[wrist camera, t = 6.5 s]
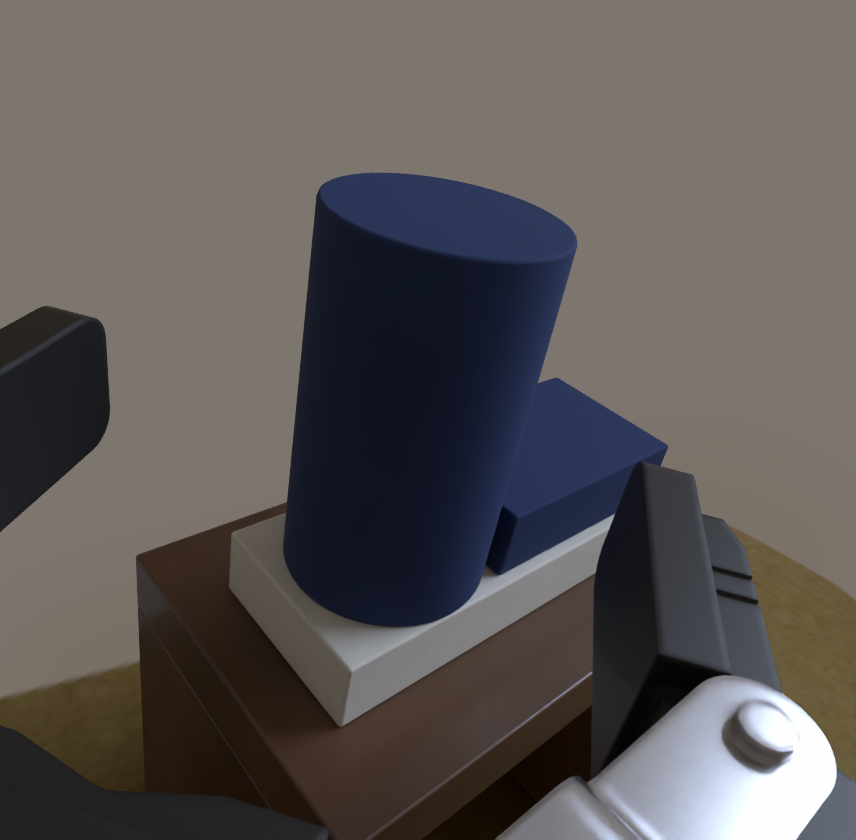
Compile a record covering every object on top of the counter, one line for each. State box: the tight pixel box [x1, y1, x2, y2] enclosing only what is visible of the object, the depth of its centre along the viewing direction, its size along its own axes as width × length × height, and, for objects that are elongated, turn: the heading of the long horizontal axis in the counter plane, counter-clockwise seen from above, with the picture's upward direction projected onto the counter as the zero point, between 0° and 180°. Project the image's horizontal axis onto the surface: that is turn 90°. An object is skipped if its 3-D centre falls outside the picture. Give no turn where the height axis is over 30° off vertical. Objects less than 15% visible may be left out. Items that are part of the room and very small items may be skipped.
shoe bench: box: [136, 502, 595, 840], centre depth 26 cm, size 10×15×14 cm, turn 131°
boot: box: [229, 173, 668, 727], centre depth 19 cm, size 12×5×11 cm, turn 131°
